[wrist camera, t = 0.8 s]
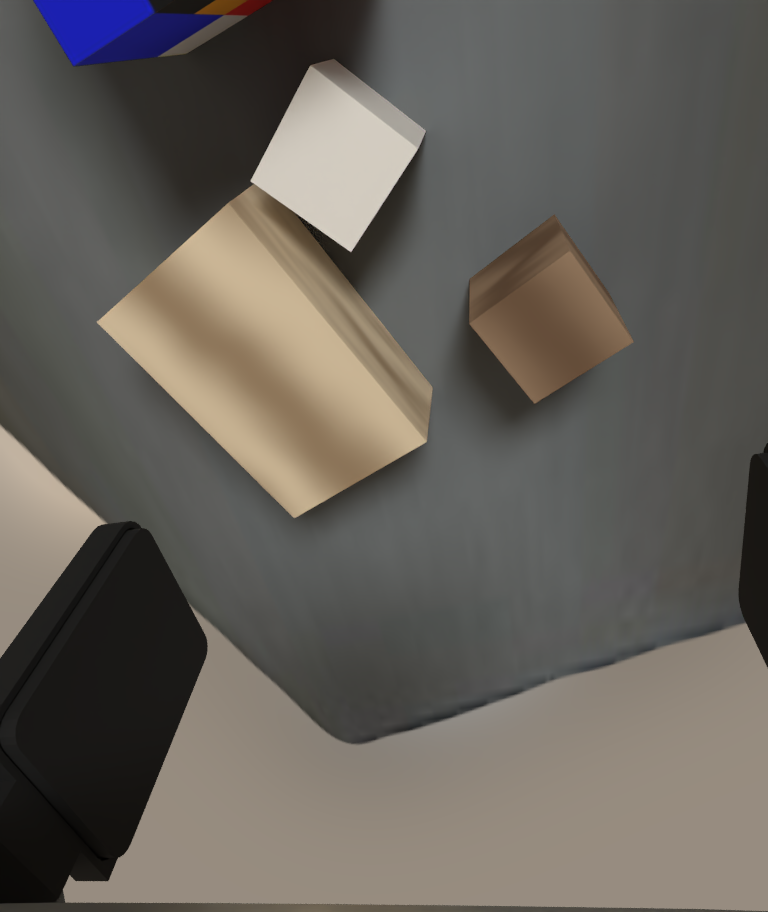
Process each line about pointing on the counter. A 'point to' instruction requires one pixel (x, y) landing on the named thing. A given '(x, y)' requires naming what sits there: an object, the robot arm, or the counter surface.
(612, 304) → the walnut block
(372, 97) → the offwhite cube
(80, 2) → the puzzle toy
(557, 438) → the counter surface
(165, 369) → the maple block
